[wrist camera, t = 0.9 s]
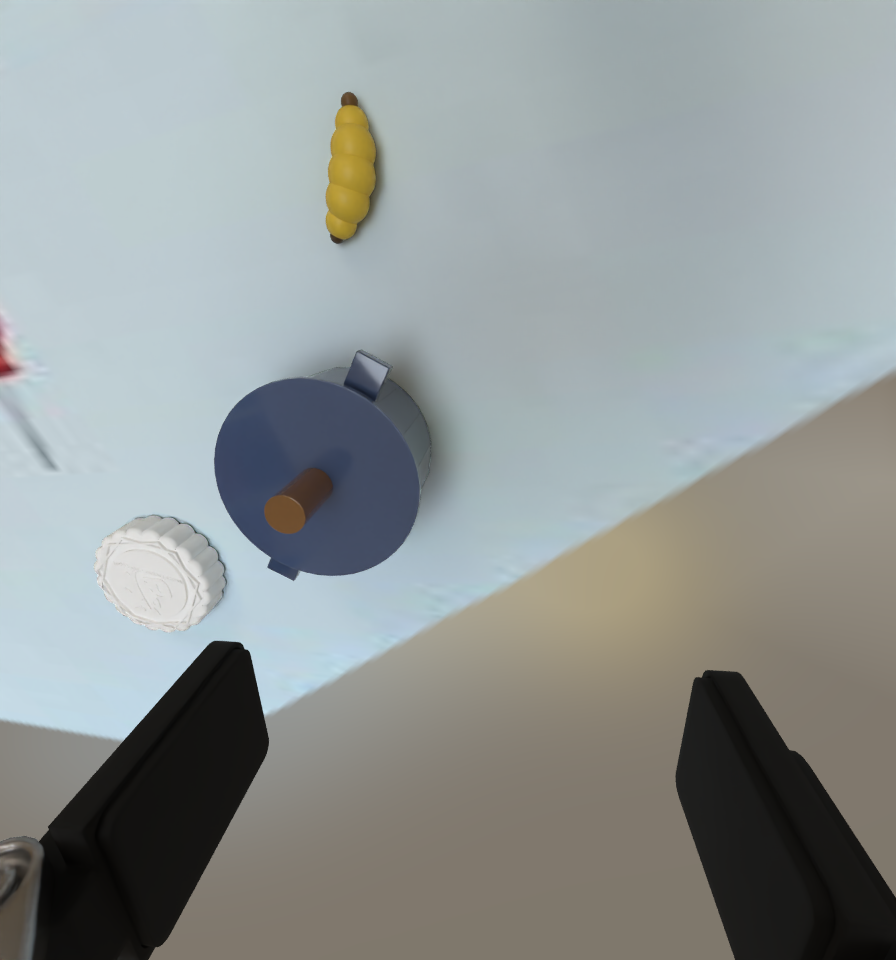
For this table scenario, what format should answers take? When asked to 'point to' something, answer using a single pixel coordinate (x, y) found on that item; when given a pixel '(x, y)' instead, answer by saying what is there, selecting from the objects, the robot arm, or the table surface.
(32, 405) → the table surface
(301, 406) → the lid
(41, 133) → the table surface
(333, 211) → the yellow segmented pod
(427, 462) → the pot
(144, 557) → the mooncake
